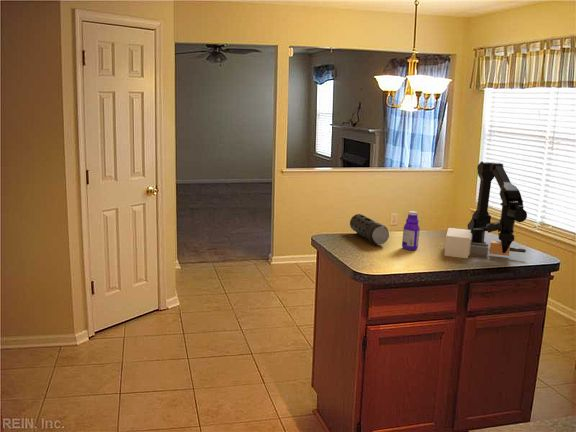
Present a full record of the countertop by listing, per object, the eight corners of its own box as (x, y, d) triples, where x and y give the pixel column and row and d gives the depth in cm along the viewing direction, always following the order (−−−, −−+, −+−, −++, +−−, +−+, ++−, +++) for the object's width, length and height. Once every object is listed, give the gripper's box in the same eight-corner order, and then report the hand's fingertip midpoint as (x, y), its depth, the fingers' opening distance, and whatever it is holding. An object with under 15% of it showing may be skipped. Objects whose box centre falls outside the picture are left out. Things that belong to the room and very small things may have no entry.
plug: (489, 253, 260) (491, 242, 259) (489, 251, 264) (490, 240, 263) (525, 257, 256) (527, 246, 255) (524, 255, 259) (526, 244, 258)
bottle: (420, 249, 268) (423, 212, 265) (413, 251, 264) (416, 213, 261) (406, 246, 273) (409, 209, 270) (399, 248, 269) (402, 211, 265)
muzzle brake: (366, 233, 297) (367, 213, 295) (389, 247, 271) (391, 225, 269) (348, 233, 295) (349, 213, 293) (370, 247, 268) (372, 225, 266)
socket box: (444, 255, 259) (446, 235, 257) (446, 246, 276) (448, 227, 274) (487, 260, 254) (489, 240, 252) (486, 250, 271) (489, 231, 269)
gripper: (488, 211, 268) (484, 245, 271) (488, 219, 250) (484, 254, 254) (514, 214, 265) (510, 247, 268) (516, 222, 247) (512, 257, 250)
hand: (503, 251), depth 260 cm, fingers closed on plug, 4 cm apart
